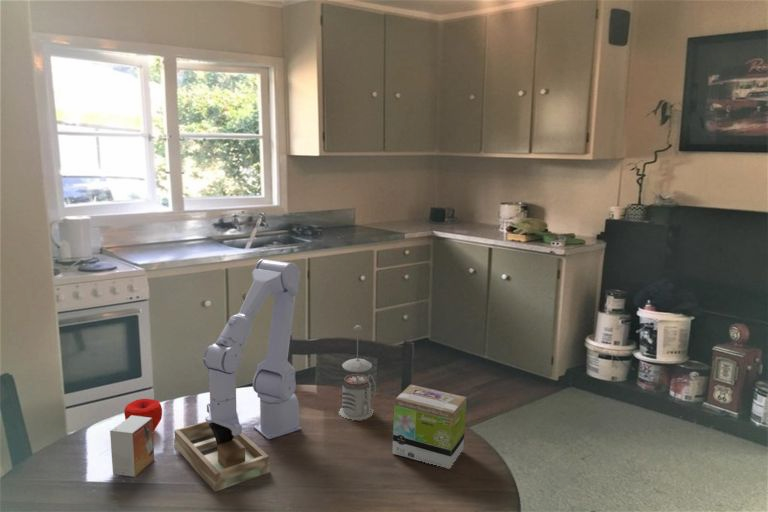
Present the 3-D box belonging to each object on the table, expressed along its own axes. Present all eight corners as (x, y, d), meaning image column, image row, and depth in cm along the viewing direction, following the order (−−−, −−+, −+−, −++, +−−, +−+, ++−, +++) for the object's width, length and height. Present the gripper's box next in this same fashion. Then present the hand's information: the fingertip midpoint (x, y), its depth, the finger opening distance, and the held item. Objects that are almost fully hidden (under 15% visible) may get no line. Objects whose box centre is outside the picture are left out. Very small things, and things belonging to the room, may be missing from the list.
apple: (170, 429, 155) (169, 400, 153) (142, 444, 147) (141, 414, 146) (145, 421, 159) (144, 393, 157) (117, 435, 151) (115, 405, 150)
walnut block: (236, 455, 140) (236, 439, 139) (245, 463, 136) (245, 447, 135) (217, 461, 137) (217, 444, 136) (226, 469, 133) (226, 453, 133)
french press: (358, 401, 174) (360, 317, 169) (386, 415, 166) (388, 327, 161) (331, 411, 167) (332, 324, 162) (358, 426, 159) (360, 335, 154)
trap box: (224, 430, 155) (224, 416, 154) (270, 472, 137) (269, 455, 136) (174, 445, 147) (173, 430, 146) (215, 491, 129) (214, 474, 128)
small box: (134, 478, 133) (132, 433, 131) (112, 474, 134) (109, 430, 132) (155, 459, 141) (153, 417, 139) (133, 456, 142) (131, 414, 140)
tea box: (391, 455, 145) (392, 397, 142) (407, 437, 154) (409, 382, 151) (450, 471, 139) (453, 411, 136) (464, 451, 148) (467, 395, 145)
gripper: (193, 389, 140) (195, 443, 142) (219, 412, 129) (221, 471, 131) (222, 382, 144) (223, 435, 147) (250, 404, 133) (251, 460, 136)
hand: (224, 451), depth 139 cm, fingers closed
